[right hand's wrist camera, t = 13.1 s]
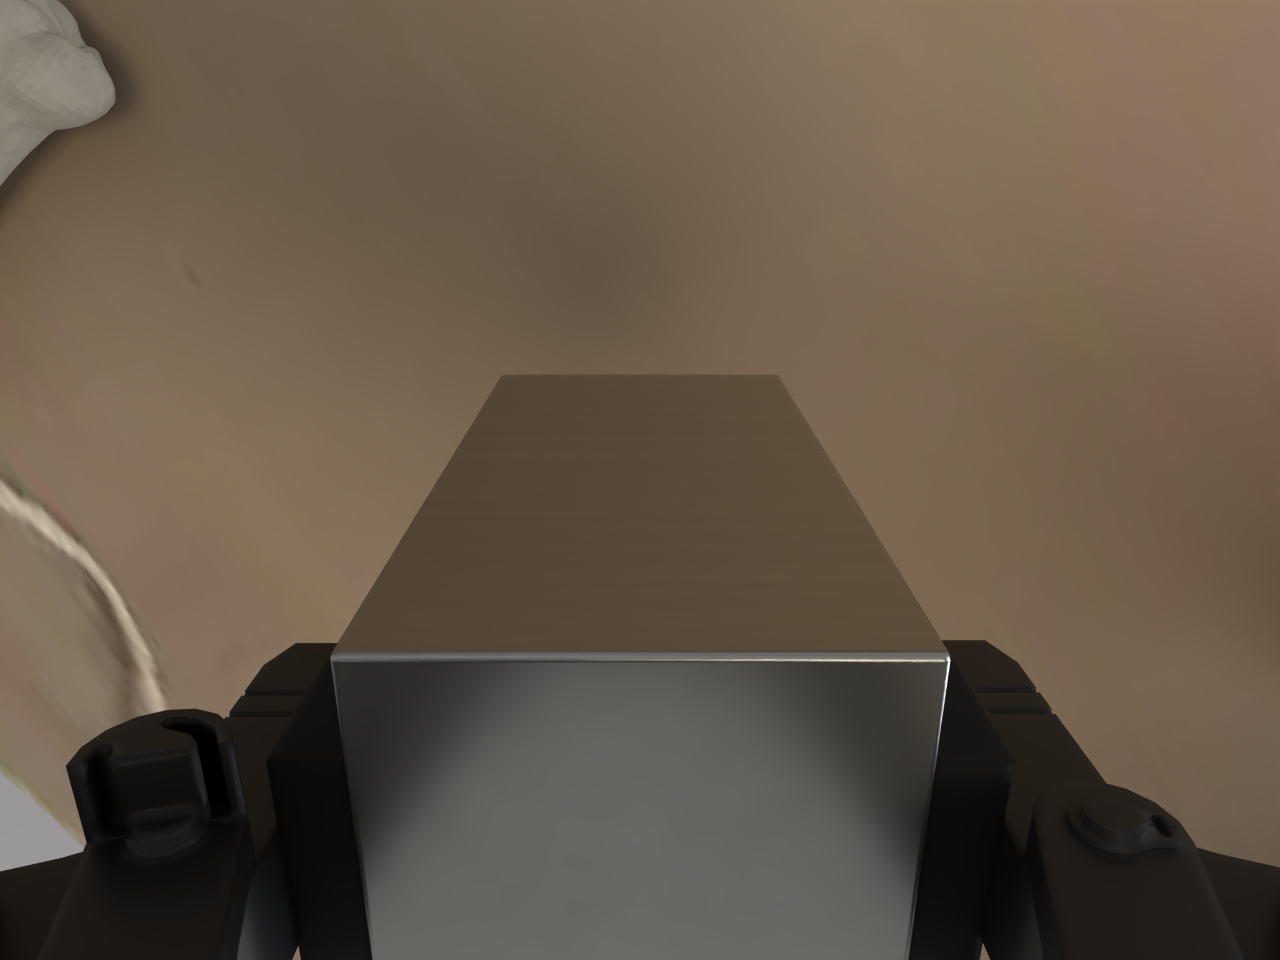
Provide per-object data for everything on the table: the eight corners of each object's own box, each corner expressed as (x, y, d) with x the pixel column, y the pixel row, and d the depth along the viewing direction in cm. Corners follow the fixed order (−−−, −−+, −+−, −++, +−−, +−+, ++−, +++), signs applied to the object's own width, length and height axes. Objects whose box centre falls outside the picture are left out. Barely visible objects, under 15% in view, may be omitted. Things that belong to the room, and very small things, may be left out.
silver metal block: (514, 622, 18) (389, 1098, 9) (500, 374, 16) (325, 654, 7) (765, 622, 18) (891, 1098, 9) (779, 373, 16) (955, 654, 7)
